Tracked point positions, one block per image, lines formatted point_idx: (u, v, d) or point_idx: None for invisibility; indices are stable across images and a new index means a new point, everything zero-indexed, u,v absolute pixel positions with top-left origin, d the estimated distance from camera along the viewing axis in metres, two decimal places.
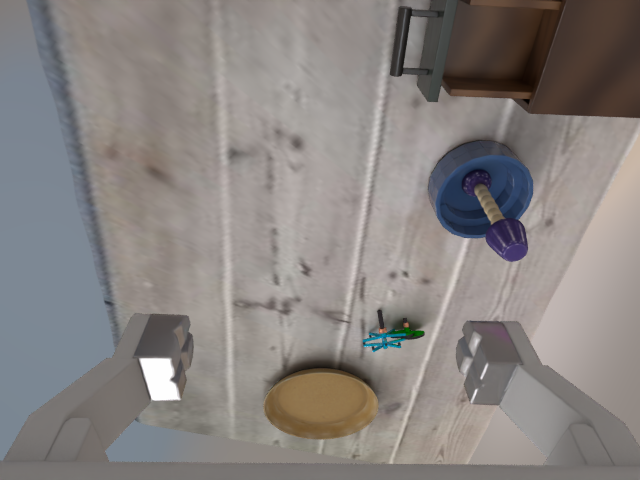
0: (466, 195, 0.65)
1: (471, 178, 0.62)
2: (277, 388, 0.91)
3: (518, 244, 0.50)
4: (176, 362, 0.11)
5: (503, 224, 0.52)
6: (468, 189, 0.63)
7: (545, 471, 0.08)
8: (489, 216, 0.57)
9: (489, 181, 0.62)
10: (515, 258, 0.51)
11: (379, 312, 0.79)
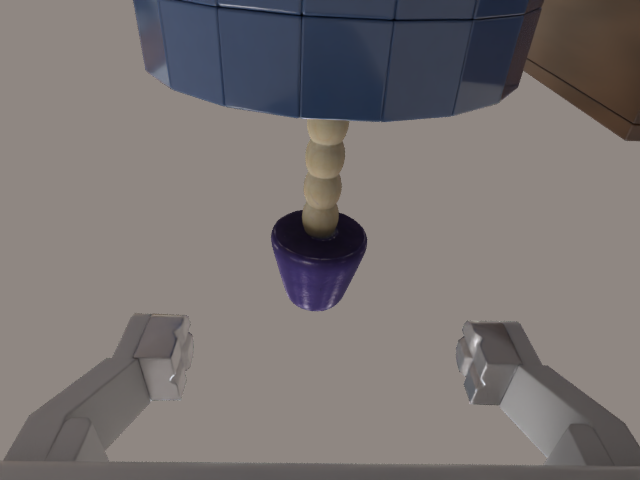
0: None
1: None
2: None
3: None
4: (176, 362, 0.11)
5: (358, 264, 0.21)
6: None
7: (545, 471, 0.08)
8: (326, 172, 0.18)
9: None
10: None
11: None
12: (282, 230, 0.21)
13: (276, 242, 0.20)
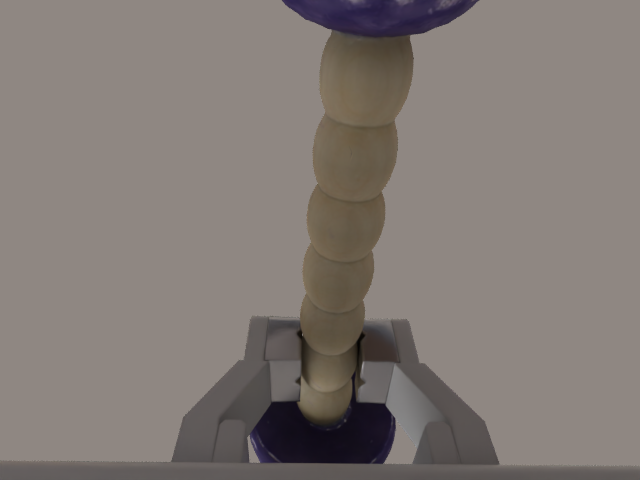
0: None
1: (463, 3, 0.06)
2: None
3: None
4: None
5: None
6: (346, 14, 0.06)
7: (545, 471, 0.08)
8: (334, 350, 0.11)
9: None
10: None
11: None
12: None
13: (254, 436, 0.13)
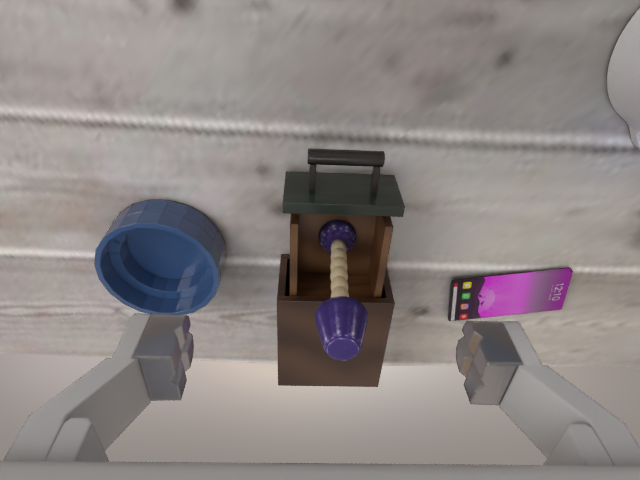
0: (150, 243, 0.51)
1: (349, 232, 0.47)
2: None
3: (357, 350, 0.35)
4: (176, 362, 0.11)
5: (365, 316, 0.37)
6: (334, 232, 0.47)
7: (545, 471, 0.08)
8: (340, 282, 0.41)
9: None
10: (332, 351, 0.35)
11: None
12: None
13: None
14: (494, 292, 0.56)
